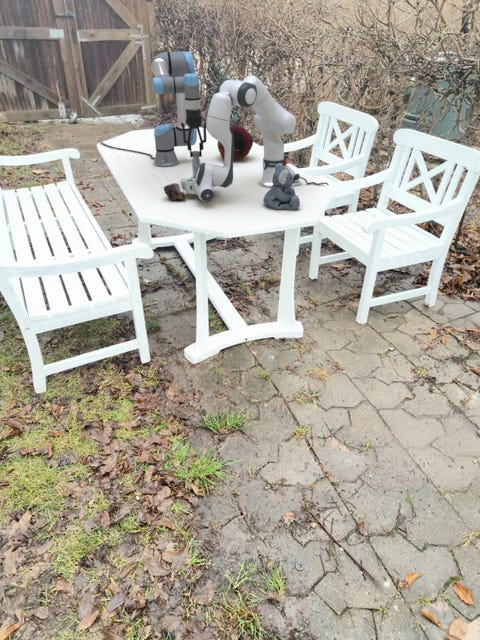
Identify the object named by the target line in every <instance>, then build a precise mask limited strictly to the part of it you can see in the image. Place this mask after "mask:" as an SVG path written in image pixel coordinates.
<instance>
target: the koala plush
mask: <svg viewBox="0 0 480 640" xmlns="http://www.w3.org/2000/svg"><path fill="white" fill-rule="evenodd" d="M272 181H273V185H272V187H270V189H268V190H267V191H266V192H265V194H264V196H263V198H262V201H263V203H264V205H265V206H266V207H270V208H272V209H276V210H282V209H284V210H289V211H292V210H298V209H299V208H300V207H301V201H300V198H299V195H296V191H295V188H294V186H292V184H293V183H294V182H295V178H294V177H292V174H291V173H290V171H289V170H288V169H287V168H285V167H283V166H282V165H281V164H278V165H276V167H275V172H274V174H273V180H272Z"/></svg>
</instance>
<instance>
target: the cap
mask: <svg viewBox="0 0 480 640" xmlns="http://www.w3.org/2000/svg"><path fill="white" fill-rule="evenodd" d="M191 151H192V157H191V158H193V157H199V158H201V157H200V150H191Z"/></svg>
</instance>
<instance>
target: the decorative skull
mask: <svg viewBox="0 0 480 640" xmlns="http://www.w3.org/2000/svg"><path fill="white" fill-rule="evenodd" d="M229 128H230V132H231V133H232V134H233V137H234V154H233V161H234V162H235V161H240V160H243V159H245V158H246V157H247V156H248V155H249V153H250V152H251V149H252V148H253V145H254V137H253V136H252V135H251V134H250V132H249V131H248V130H247V129H246V128H244V127H242V126H238V125H233V126H229ZM217 149H218V152H219V154H220V157H221V159H223V162H222V163H223V164H224V155H225V149H224V146H223V144H222V143H221V142H219V141H218V140H217Z"/></svg>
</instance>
